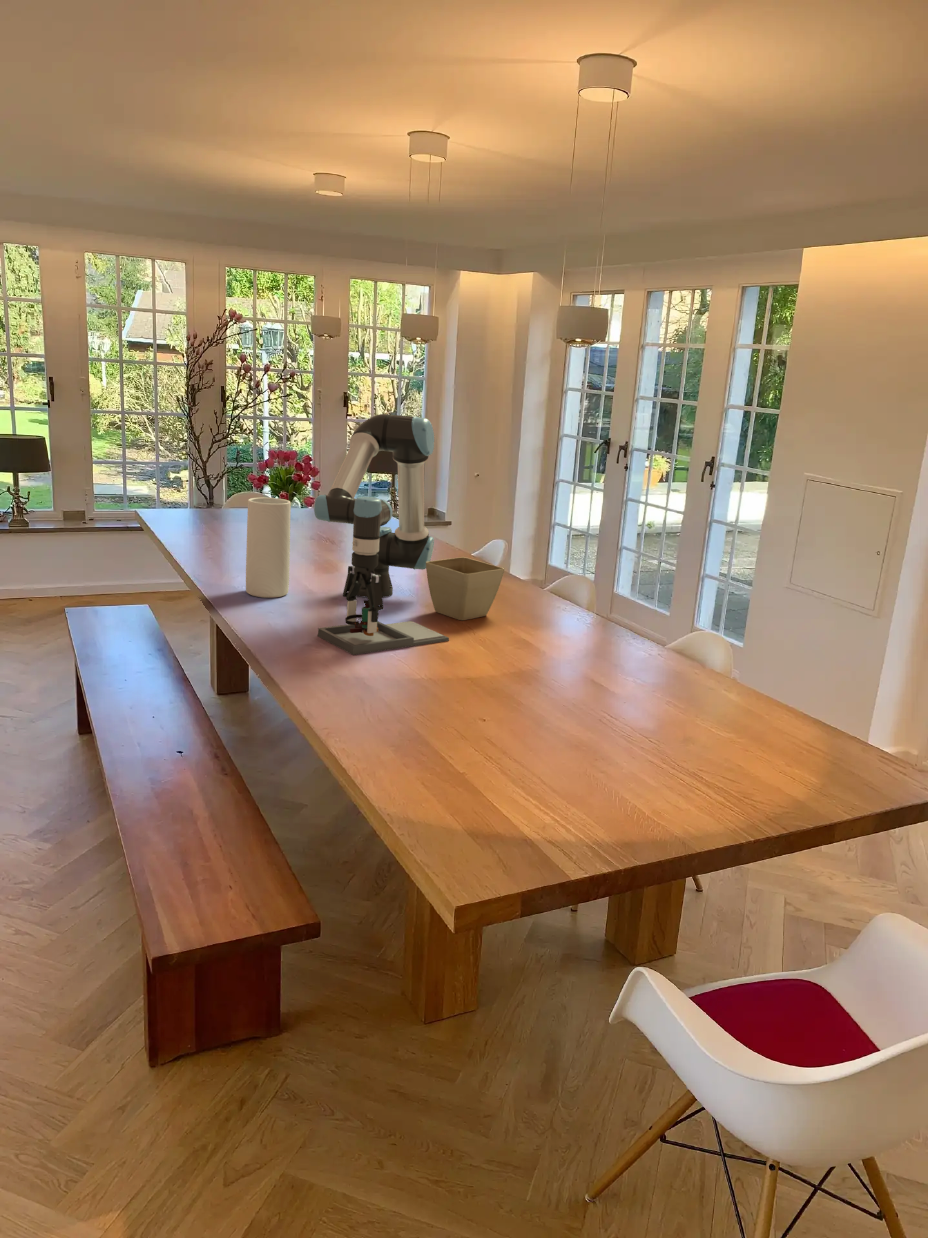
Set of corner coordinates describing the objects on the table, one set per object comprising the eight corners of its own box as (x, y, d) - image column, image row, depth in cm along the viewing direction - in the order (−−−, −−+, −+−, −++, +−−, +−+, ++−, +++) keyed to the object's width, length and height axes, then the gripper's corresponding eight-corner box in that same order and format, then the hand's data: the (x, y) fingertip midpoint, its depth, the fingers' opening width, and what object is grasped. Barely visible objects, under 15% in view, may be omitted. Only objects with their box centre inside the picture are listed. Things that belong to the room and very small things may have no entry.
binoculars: (349, 593, 266) (382, 594, 264) (351, 628, 268) (383, 629, 266) (339, 600, 257) (373, 601, 255) (341, 636, 260) (374, 637, 258)
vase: (296, 592, 312) (299, 500, 304) (274, 600, 299) (277, 505, 290) (259, 586, 316) (261, 495, 308) (237, 594, 303) (238, 500, 295)
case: (411, 624, 285) (411, 616, 284) (448, 640, 271) (449, 632, 270) (317, 636, 264) (318, 628, 264) (353, 655, 250) (353, 646, 249)
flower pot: (501, 617, 302) (506, 567, 298) (462, 625, 289) (466, 573, 284) (460, 604, 315) (464, 556, 310) (420, 611, 301) (424, 561, 296)
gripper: (332, 545, 263) (329, 618, 269) (376, 561, 246) (372, 639, 252) (355, 543, 268) (351, 616, 273) (399, 559, 251) (394, 636, 256)
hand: (361, 627), depth 263 cm, fingers closed on binoculars, 10 cm apart
